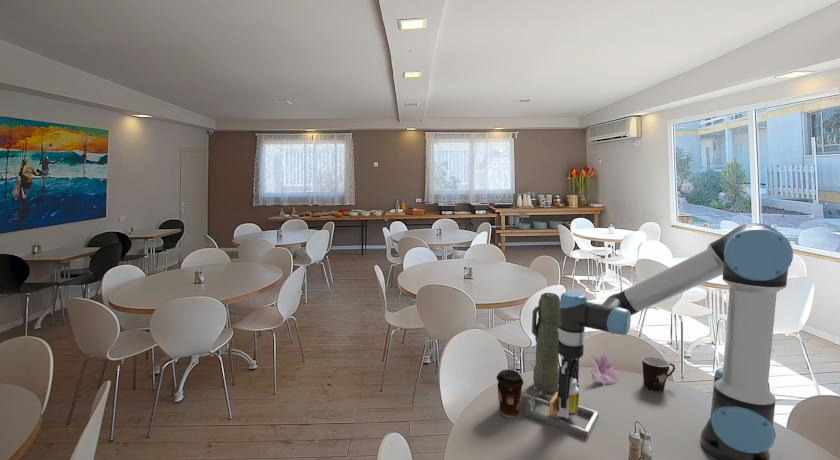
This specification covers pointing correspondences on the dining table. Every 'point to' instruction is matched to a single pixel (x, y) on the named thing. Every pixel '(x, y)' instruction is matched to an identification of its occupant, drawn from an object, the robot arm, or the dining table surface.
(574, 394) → the pill bottle
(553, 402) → the pusher
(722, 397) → the robot arm
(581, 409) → the lane
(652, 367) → the coffee mug
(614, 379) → the lily
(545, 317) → the thermos
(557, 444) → the dining table surface
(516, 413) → the coffee cup
